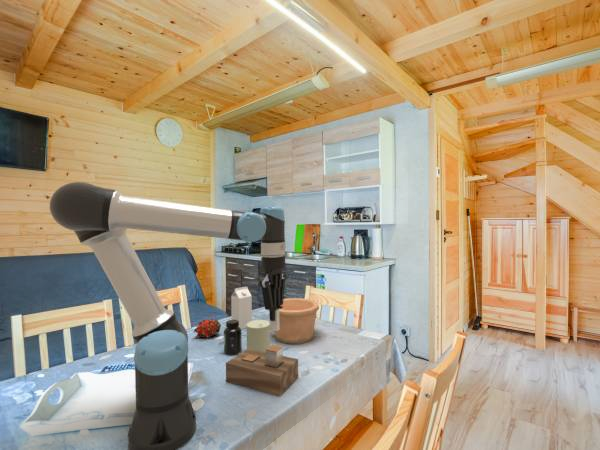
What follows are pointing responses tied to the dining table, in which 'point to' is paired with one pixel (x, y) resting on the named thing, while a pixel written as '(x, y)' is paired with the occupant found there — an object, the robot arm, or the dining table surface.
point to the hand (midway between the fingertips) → (274, 329)
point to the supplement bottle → (232, 338)
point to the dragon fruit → (208, 328)
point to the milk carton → (241, 306)
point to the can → (258, 335)
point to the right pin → (274, 356)
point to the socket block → (262, 373)
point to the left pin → (250, 358)
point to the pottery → (296, 320)
